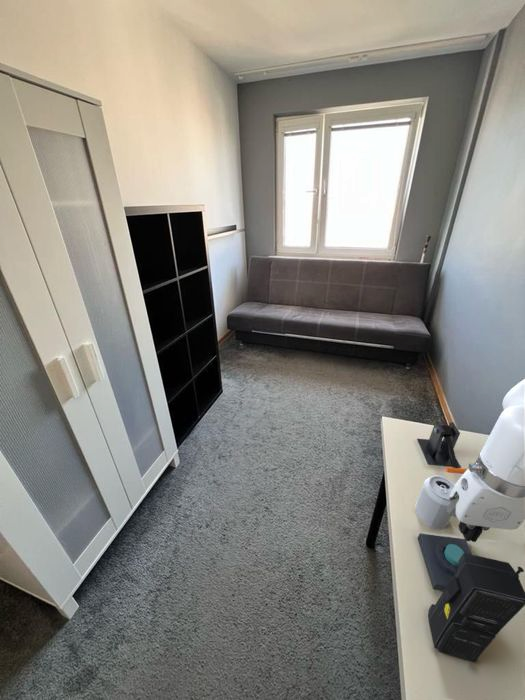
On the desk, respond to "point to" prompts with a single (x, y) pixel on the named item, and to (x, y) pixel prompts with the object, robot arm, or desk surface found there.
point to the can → (434, 502)
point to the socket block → (439, 558)
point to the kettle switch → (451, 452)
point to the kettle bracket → (438, 446)
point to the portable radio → (475, 606)
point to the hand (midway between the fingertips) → (466, 533)
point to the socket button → (453, 554)
